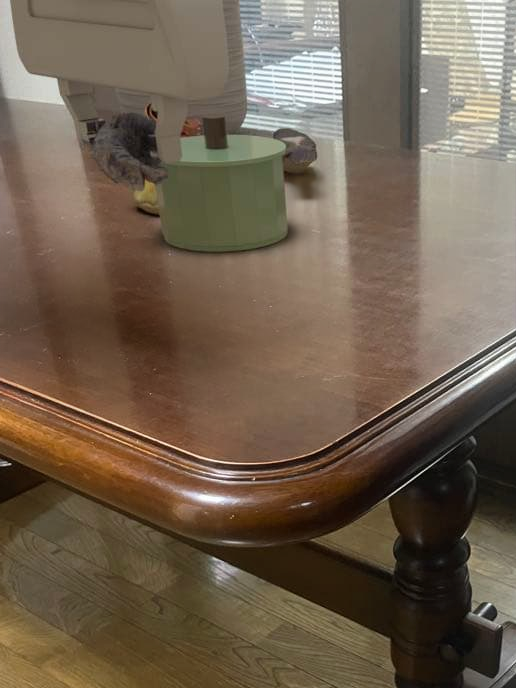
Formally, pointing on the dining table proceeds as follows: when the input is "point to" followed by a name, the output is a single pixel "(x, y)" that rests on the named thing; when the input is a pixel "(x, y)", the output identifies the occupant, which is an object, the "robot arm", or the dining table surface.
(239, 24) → the vase
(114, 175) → the seashell
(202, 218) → the pot
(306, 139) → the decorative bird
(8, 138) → the dining table surface
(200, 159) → the pot lid
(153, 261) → the dining table surface
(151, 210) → the bread roll
